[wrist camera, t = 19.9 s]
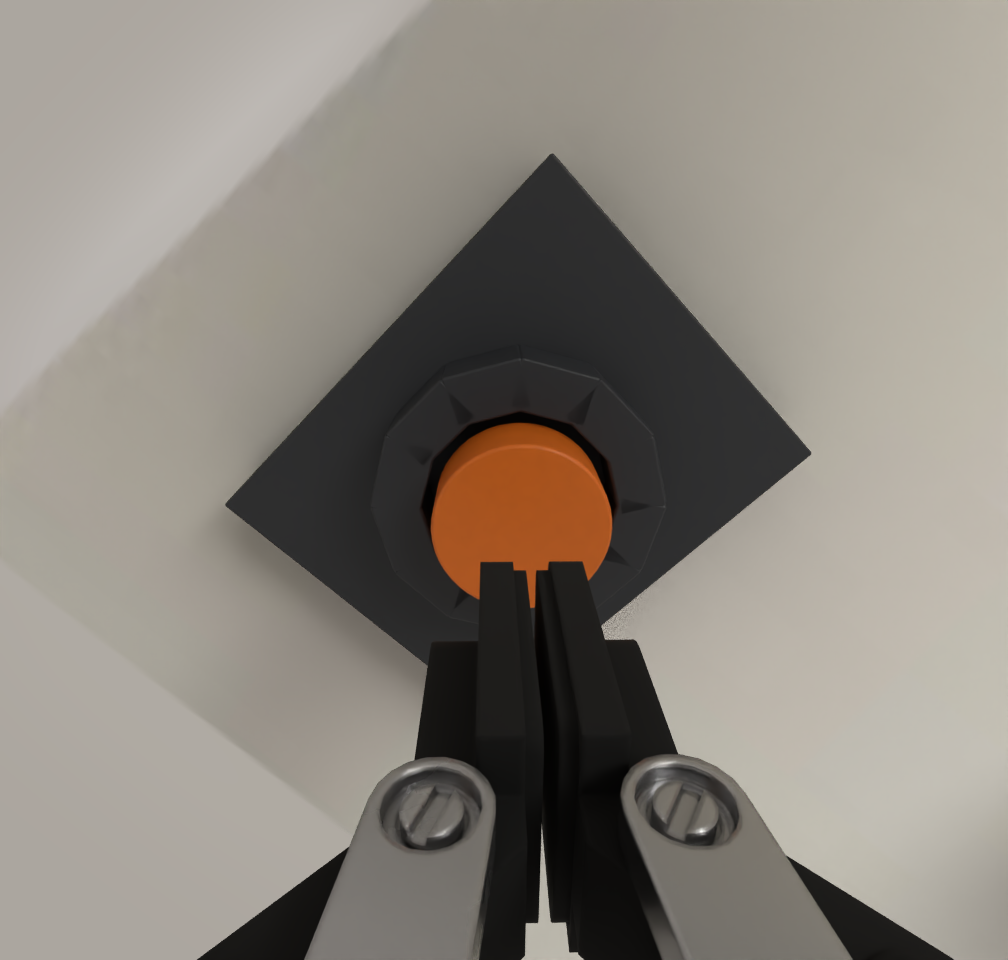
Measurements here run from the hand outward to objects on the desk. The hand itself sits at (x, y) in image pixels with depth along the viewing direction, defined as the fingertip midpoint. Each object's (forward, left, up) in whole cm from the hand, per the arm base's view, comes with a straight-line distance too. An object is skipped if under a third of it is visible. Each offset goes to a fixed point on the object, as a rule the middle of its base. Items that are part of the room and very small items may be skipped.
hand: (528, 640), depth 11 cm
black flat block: (0, 0, -9) cm, 9 cm away
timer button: (0, 0, -6) cm, 6 cm away
